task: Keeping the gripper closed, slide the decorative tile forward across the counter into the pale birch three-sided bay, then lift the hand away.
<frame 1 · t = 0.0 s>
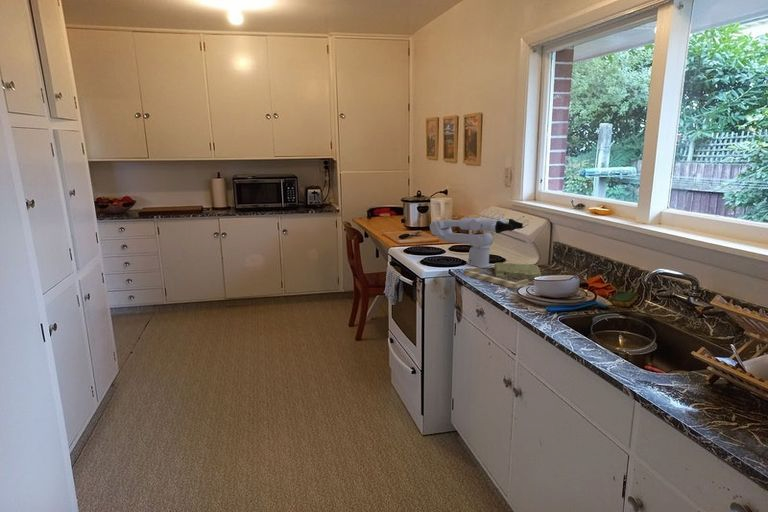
hand: (517, 226, 212), 22 cm above the worktop, tool horizontal, fingers open, 7 cm apart
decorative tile: (516, 275, 217), on the worktop
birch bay: (496, 279, 208), on the worktop
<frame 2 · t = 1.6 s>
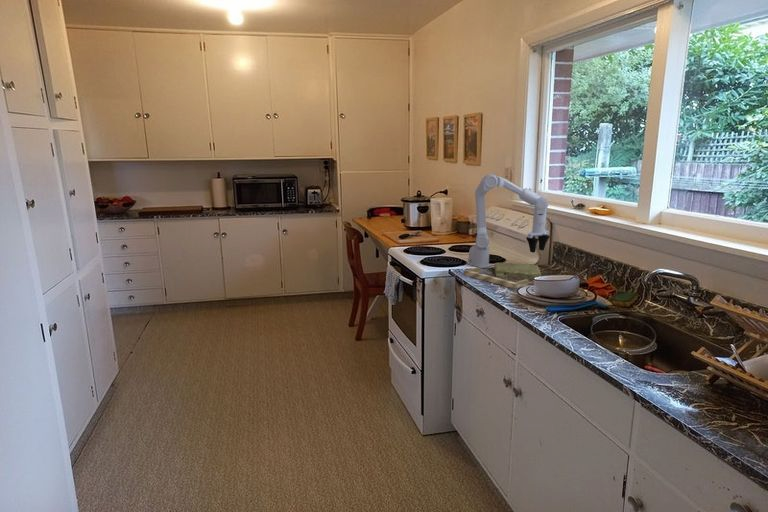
hand: (537, 251, 225), 8 cm above the worktop, tool pointing down, fingers open, 7 cm apart
nothing on the worktop moved.
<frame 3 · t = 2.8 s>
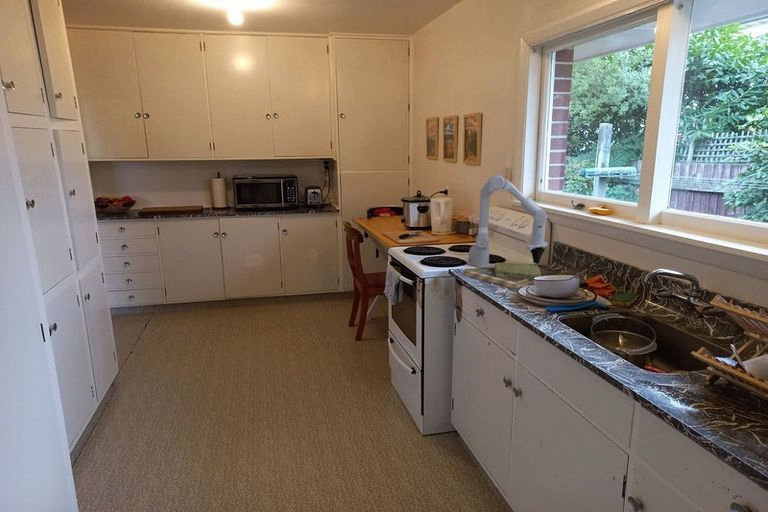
hand: (536, 262, 226), 3 cm above the worktop, tool pointing down, fingers closed
nothing on the worktop moved.
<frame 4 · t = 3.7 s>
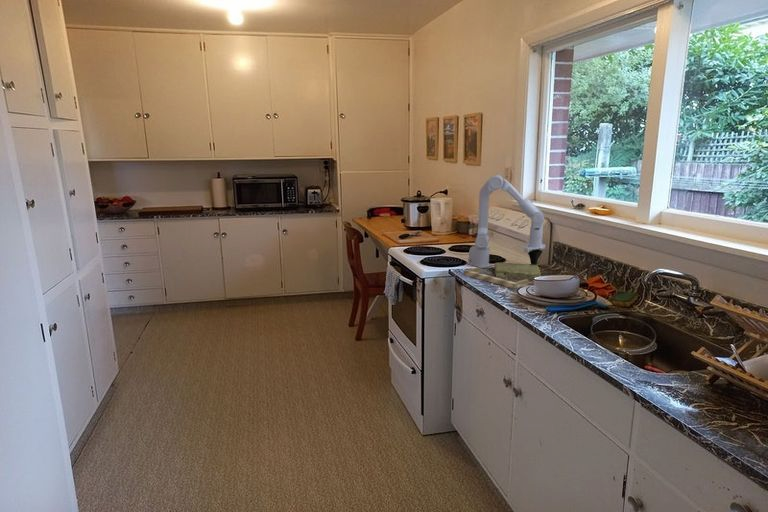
hand: (533, 265, 225), 2 cm above the worktop, tool pointing down, fingers closed
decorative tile: (516, 275, 217), on the worktop, touching gripper
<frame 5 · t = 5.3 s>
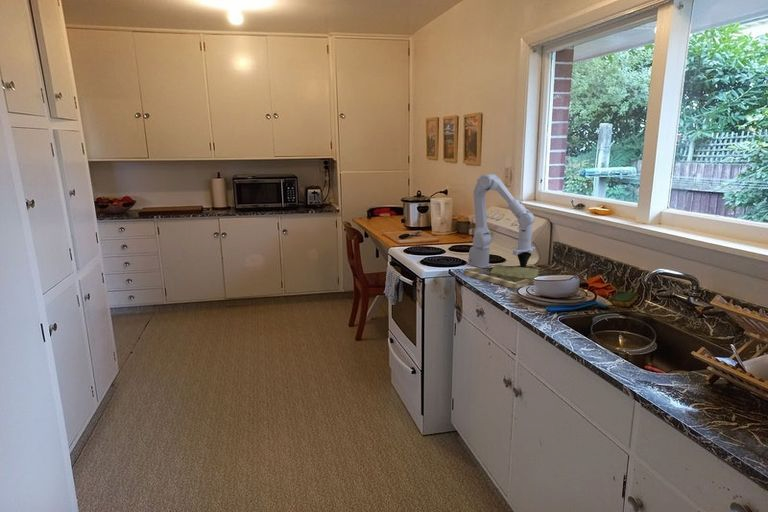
hand: (522, 267, 220), 2 cm above the worktop, tool pointing down, fingers closed, pressing on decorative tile
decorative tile: (513, 278, 212), on the worktop, touching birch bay, gripper
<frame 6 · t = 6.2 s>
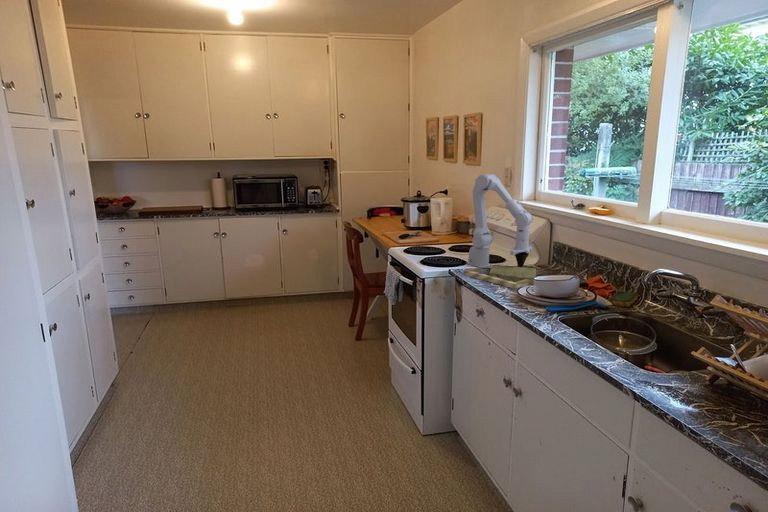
hand: (520, 268, 219), 2 cm above the worktop, tool pointing down, fingers closed, pressing on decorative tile
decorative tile: (512, 277, 212), on the worktop, touching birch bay, gripper
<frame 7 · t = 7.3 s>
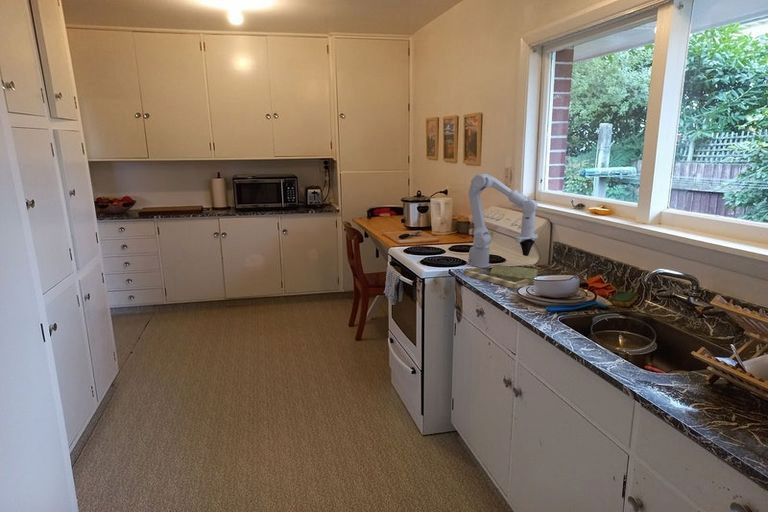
hand: (525, 255, 219), 8 cm above the worktop, tool pointing down, fingers closed
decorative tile: (512, 278, 212), on the worktop
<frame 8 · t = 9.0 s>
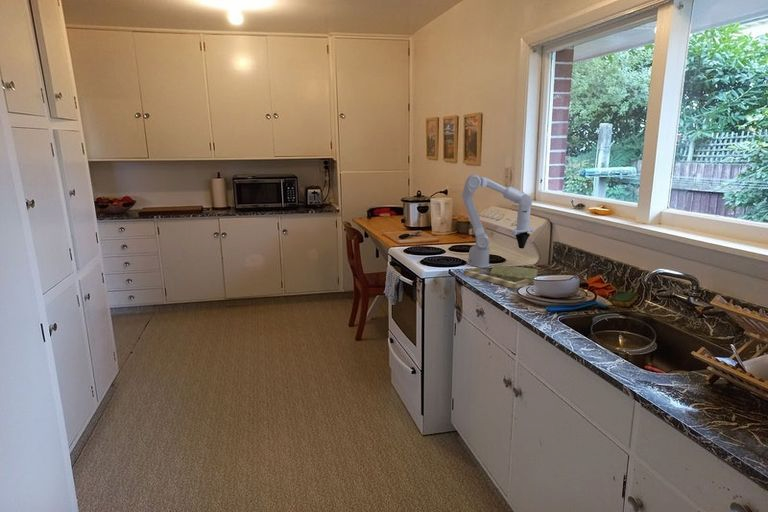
hand: (521, 248, 226), 9 cm above the worktop, tool pointing down, fingers closed
nothing on the worktop moved.
at the end: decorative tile 3.3 cm from the target spot, on the worktop; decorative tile moved 6.7 cm from its start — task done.
